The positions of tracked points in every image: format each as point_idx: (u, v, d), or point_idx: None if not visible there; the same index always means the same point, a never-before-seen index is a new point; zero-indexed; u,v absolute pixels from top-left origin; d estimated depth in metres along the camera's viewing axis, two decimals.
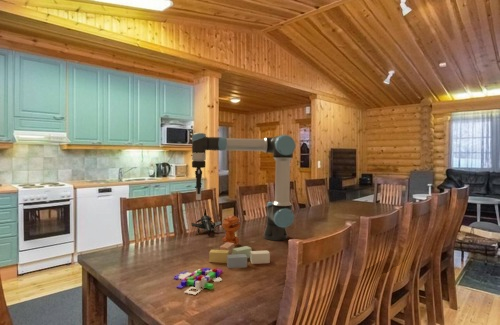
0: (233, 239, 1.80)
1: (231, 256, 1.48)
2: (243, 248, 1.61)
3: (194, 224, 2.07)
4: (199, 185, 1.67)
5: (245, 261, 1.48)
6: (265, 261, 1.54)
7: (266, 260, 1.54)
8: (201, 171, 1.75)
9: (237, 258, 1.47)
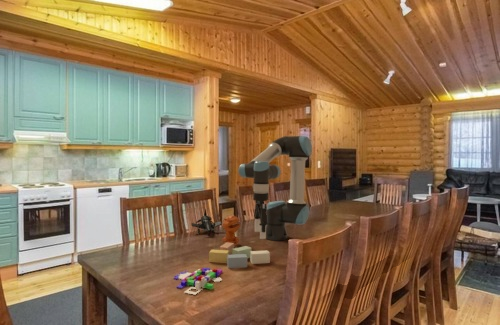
0: (233, 239, 1.80)
1: (231, 256, 1.48)
2: (243, 248, 1.61)
3: (194, 224, 2.07)
4: (265, 222, 1.45)
5: (245, 261, 1.48)
6: (265, 261, 1.54)
7: (266, 260, 1.54)
8: None
9: (237, 258, 1.47)
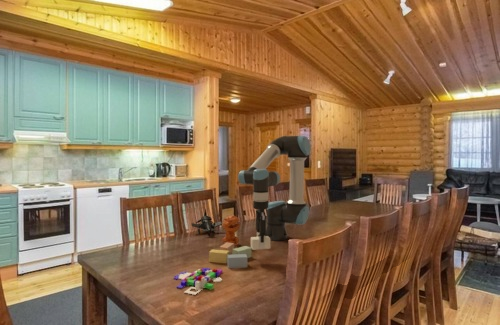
0: (233, 239, 1.80)
1: (231, 256, 1.48)
2: (243, 248, 1.61)
3: (194, 224, 2.06)
4: (264, 233, 1.50)
5: (245, 261, 1.48)
6: (266, 246, 1.54)
7: (267, 246, 1.54)
8: (264, 213, 1.53)
9: (237, 258, 1.47)
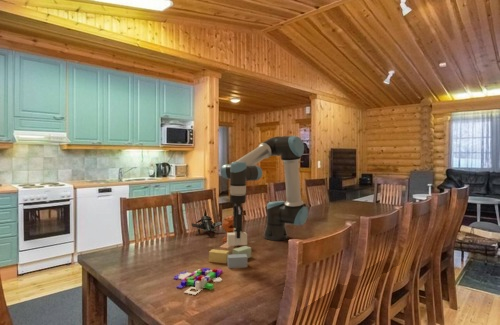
0: None
1: (231, 256, 1.48)
2: (243, 248, 1.61)
3: (194, 224, 2.06)
4: (239, 228, 1.43)
5: (245, 261, 1.48)
6: (242, 242, 1.47)
7: (243, 242, 1.47)
8: (241, 208, 1.47)
9: (237, 258, 1.47)
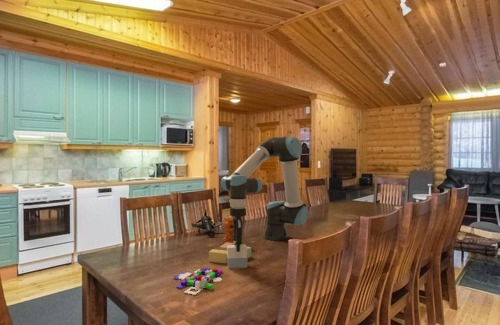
0: None
1: None
2: None
3: (194, 224, 2.06)
4: (239, 242, 1.43)
5: (245, 262, 1.47)
6: (242, 255, 1.47)
7: (243, 255, 1.47)
8: (241, 221, 1.47)
9: (237, 258, 1.47)
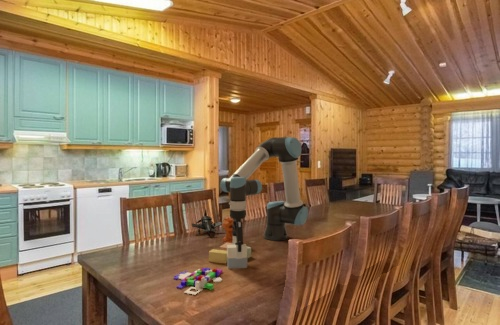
0: None
1: None
2: None
3: (194, 225, 2.05)
4: (241, 242, 1.39)
5: (245, 261, 1.47)
6: (242, 255, 1.47)
7: (243, 254, 1.47)
8: None
9: None
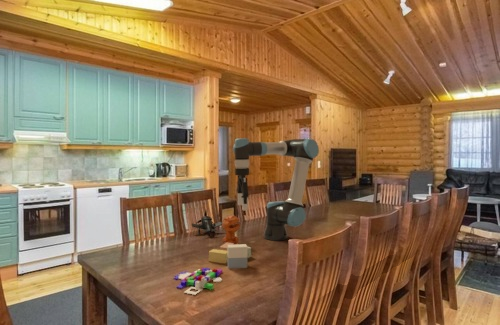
0: (233, 239, 1.80)
1: None
2: None
3: (194, 225, 2.05)
4: (246, 195, 1.56)
5: (245, 261, 1.47)
6: (242, 255, 1.47)
7: (244, 254, 1.47)
8: None
9: (237, 258, 1.47)
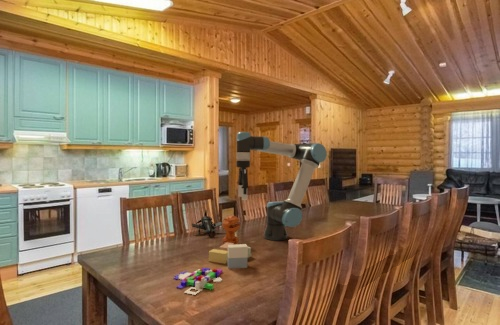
0: (233, 239, 1.80)
1: None
2: None
3: (194, 225, 2.05)
4: (246, 185, 1.63)
5: (245, 261, 1.47)
6: (243, 255, 1.47)
7: (244, 254, 1.47)
8: None
9: (237, 258, 1.47)
